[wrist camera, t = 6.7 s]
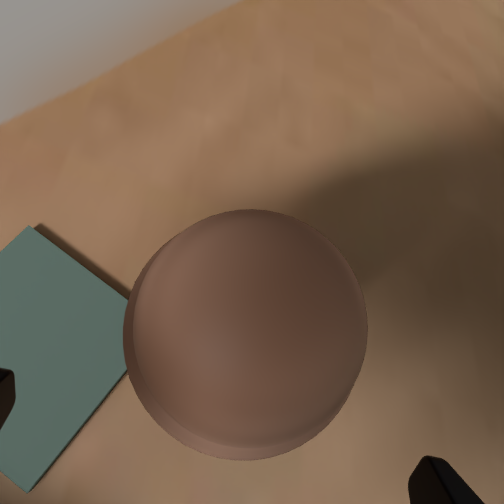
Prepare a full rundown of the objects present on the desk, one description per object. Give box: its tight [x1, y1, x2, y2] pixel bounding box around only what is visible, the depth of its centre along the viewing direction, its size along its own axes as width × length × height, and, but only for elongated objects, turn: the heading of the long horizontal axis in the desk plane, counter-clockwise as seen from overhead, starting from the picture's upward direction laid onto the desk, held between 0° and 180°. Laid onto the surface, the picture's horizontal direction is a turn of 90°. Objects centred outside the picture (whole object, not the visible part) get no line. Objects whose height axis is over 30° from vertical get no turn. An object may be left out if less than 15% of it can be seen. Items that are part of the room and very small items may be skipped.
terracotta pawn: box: [123, 209, 368, 460], centre depth 12 cm, size 5×5×13 cm
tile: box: [0, 225, 128, 493], centre depth 17 cm, size 8×8×1 cm
